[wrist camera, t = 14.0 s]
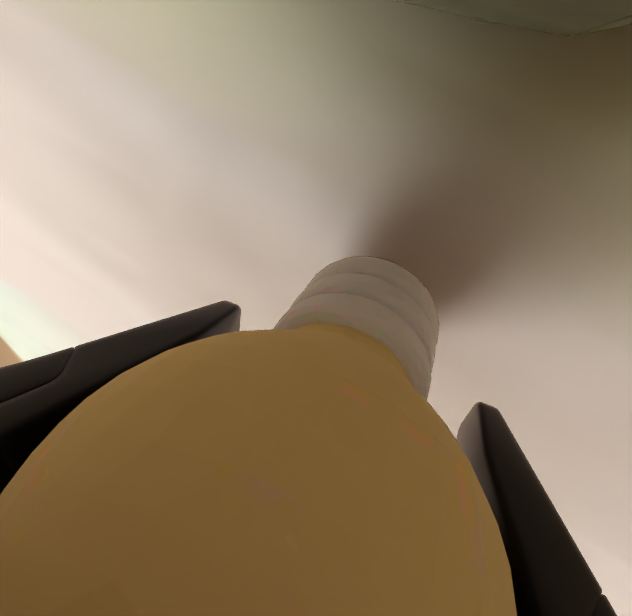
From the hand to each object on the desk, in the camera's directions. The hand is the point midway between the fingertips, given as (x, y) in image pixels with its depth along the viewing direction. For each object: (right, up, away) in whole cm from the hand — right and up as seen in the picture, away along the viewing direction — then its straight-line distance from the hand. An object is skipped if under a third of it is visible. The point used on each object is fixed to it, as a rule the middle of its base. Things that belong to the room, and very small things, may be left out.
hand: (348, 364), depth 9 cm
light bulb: (+1, +1, +2) cm, 3 cm away
